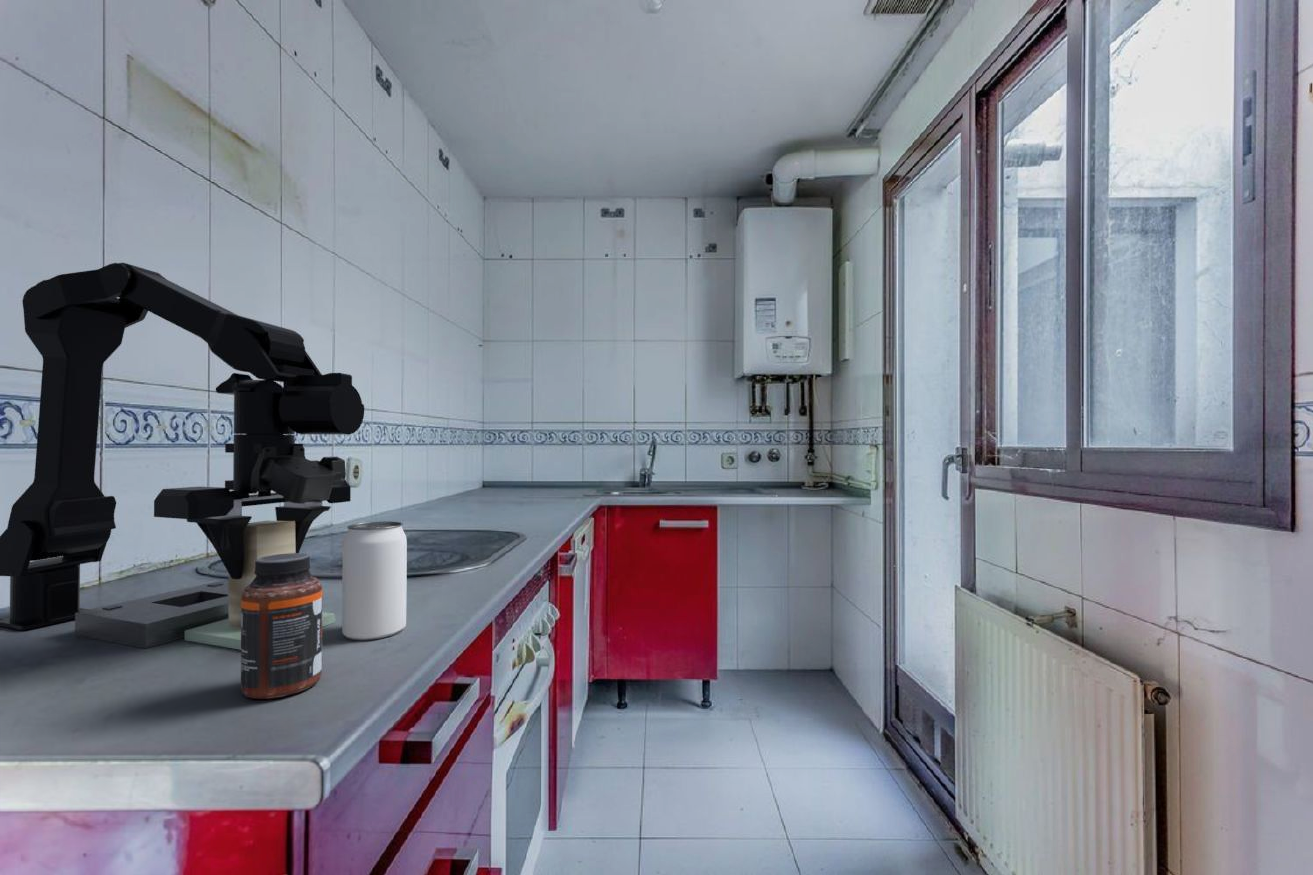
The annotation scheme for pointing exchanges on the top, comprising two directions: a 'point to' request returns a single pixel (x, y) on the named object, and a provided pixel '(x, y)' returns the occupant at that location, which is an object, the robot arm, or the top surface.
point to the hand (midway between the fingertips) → (263, 573)
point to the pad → (229, 632)
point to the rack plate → (155, 616)
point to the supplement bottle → (281, 628)
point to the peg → (258, 544)
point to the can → (374, 580)
